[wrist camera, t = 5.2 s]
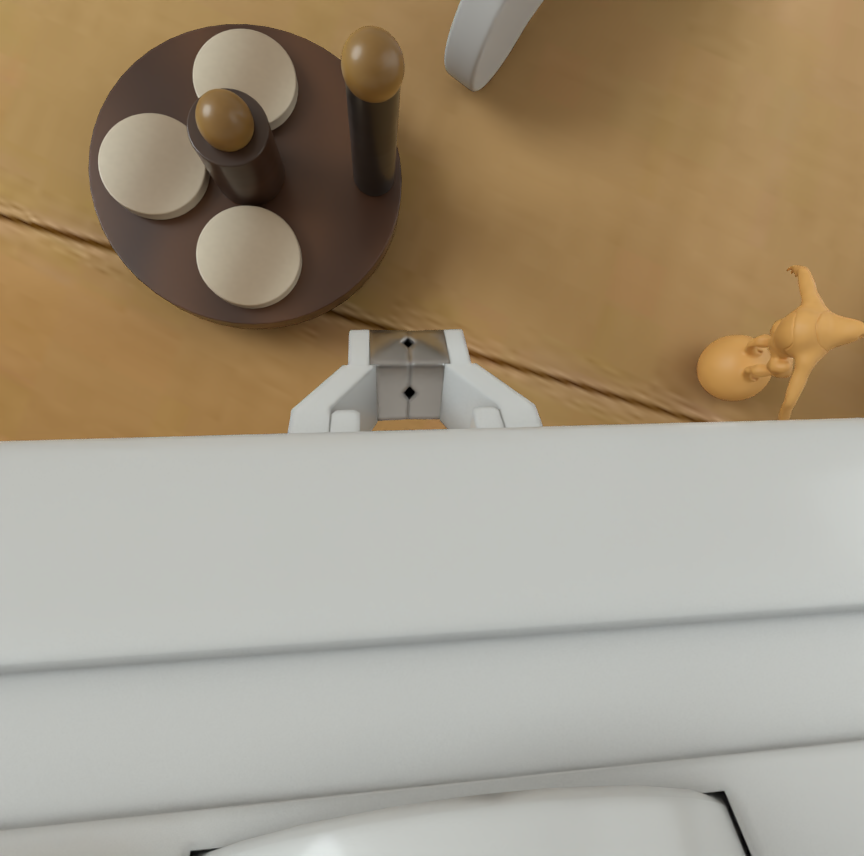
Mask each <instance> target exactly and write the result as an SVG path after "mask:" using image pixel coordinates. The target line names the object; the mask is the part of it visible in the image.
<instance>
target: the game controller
mask: <svg viewBox="0 0 864 856" xmlns="http://www.w3.org/2000/svg"><path fill="white" fill-rule="evenodd" d="M543 1H544V0H461V1H460V4H459V6H458V9H457V11H456V14H455V17H454V20H453V23H452V26H451V29H450V32H449V36H448V40H447V44H446V49H445V58H444V63H445V68H446V71H447V72H448V73H449V74H450V75H451V76H452V77H454V78H455V79H456V80H458V81H459V82H460V83H462V84H463V85H464V86H466V87H467V88H468V89H470V90H471V91H478V90H480V89H481V88H483V87H484V86H485V85H486V84H487V83H488V82H489V81H490V79H491V78H492V77H493V76H494V74H495V73H496V72H497V70H498V69H499V68H500V66H501V65H502V63H503V62H504V61H505V59H506V58H507V56H508V54H509V53H510V51H511V50H512V48H513V46H514V45H515V43H516V41H517V40H518V38H519V36H520V35H521V33H522V31H523V30H524V28H525V26H526V25H527V23H528V22H529V20H530V19H531V17H532V16H533V14H534V13H535V12H536V10H537V9H538V8H539V6H540V5H541V3H542V2H543Z"/></svg>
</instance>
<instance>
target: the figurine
mask: <svg viewBox="0 0 864 856" xmlns="http://www.w3.org/2000/svg"><path fill="white" fill-rule="evenodd" d="M788 270H792V271H791V274H792V273H793V272H794V274H795V277H798V284H799V289H800V294H801V298H802V302H801V305H800V306H799V307H798V308H797V309H796V310H794V311H792V312H791V313H790V314H788V315H787V316H786V317H785V318H783V319H780V320H778V321H776V322H775V323H774V324H773V326H772V329H771V330H770V334H771V335H768V334H764V335H760V336H757V337H756V338H752V337H749V336H745V335H730V336H725V337H722V338H720V339H717V340H716V341H714V342H712V343H711V344H710V345H709V346H707V347H706V349H705V350H704V351H703V352H702V354H701V356H700V358H699V360H698V364H697V376H698V379H699V382H700V384H701V385H702V387H703V388H704V389H705V390H706V391H707V392H708V393H709V394H711V395H712V396H714V397H716V398H719V399H722V400H727V401H738V400H744V399H747V398H750V397H752V396H754V395H756V394H757V393H759V392H760V391H761V390H762V389H763V388H764V387H765V386H766V385H767V383H768V382H769V380H770V378H771V376H772V375H773V376H774V377H777V378H787V377H789V376H790V375H791V374H792V376H791V379H790V382H789V385H788V388H787V391H786V395H785V401H784V403H783V404H782V406H781V409H780V411H779V416H778V420H789V418H790V416H791V412H792V409H793V407H794V406H795V404H796V402H797V400H798V398H799V396H800V395H801V393H802V391H803V389H804V387H805V384H806V382H807V379H808V376H809V374H810V372H811V371H812V369H813V368H814V367H815V365H816V364H817V362H818V361H819V360H820V359H821V358H822V357H824V356H825V355H826V354H827V352H828V351H829V350H831V349H833V348H835V347H838V346H841V345H845V344H848V343H851V342H854V341H856V340H859V339H861V338H863V337H864V323H863V322H861V321H859V320H856V319H851V318H847V317H843V316H839V315H836V314H834V313H832V312H831V311H830V310H829V309H828V308H827V307H826V306H825V304H824V302H823V300H822V298H821V297H820V295H819V294H818V292H817V288H816V284H815V281H814V278H813V276H812V274H811V272H810V270H809V269H808V268H807V267H803V266H798V265H795V266H791V267H789V268H788V269H787V271H788ZM766 347H769V350H770V352H769V350H768V349H767V348H766ZM770 353H771V354H770ZM793 358H794V359H795V368H794V371H793V368H792V366H793ZM792 371H793V373H792Z"/></svg>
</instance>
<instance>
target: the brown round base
mask: <svg viewBox="0 0 864 856" xmlns="http://www.w3.org/2000/svg"><path fill="white" fill-rule="evenodd" d="M403 76H404V58H403V54H402V51H401V48H400V46H399V44H398V43H397V41H396V40H395V38H394V37H393V36H392V35H391V34H390V33H388V32H387V31H386V30H384V29H382V28H379V27H376V26H365V27H362V28H359V29H358V30H356V31H355V32H353V33H352V34H351V35H350V36H349V38H348V39H347V41H346V43H345V45H344V47H343V50H342V55H341V60H340V59H338V58H337V57H336V56H334V55H333V54H331V53H330V52H328V51H327V50H325V49H324V48H322V47H320V46H318V45H316V44H315V43H313V42H311V41H309V40H307V39H305V38H302V37H299V36H297V35H294V34H292V33H289V32H286V31H282V30H278V29H274V28H270V27H265V26H257V25H248V24H226V25H218V26H210V27H204V28H201V29H197V30H193V31H189V32H186V33H184V34H181V35H179V36H176V37H174V38H171V39H169V40H167V41H165V42H164V43H162V44H160V45H158V46H157V47H155V48H153V49H151V50H150V51H149V52H147V53H146V54H145V55H144V56H142V57H141V58H140V59H138V60H137V61H136V62H135V63H134V64H133V65H132V66H131V67H130V68H129V69H128V70H127V71H126V72H125V73H124V74H123V75H122V76H121V78H120V79H119V80H118V82H117V83H116V84H115V86H114V87H113V89H112V90H111V91H110V93H109V95H108V97H107V98H106V100H105V102H104V104H103V106H102V108H101V110H100V112H99V115H98V118H97V121H96V124H95V127H94V130H93V135H92V140H91V145H90V153H89V179H90V190H91V194H92V198H93V203H94V207H95V211H96V213H97V216H98V219H99V221H100V224H101V227H102V229H103V231H104V233H105V235H106V237H107V238H108V240H109V242H110V244H111V246H112V248H113V249H114V250H115V252H116V253H117V254H118V256H119V257H120V259H121V260H122V261H123V263H124V264H125V265H126V266H127V267H128V268H129V269H130V270H131V272H132V273H133V274H134V275H135V276H136V277H137V278H138V279H139V280H140V281H141V282H143V283H144V284H145V285H146V286H148V287H149V288H150V289H151V290H152V291H154V292H155V293H156V294H158V295H159V296H161V297H162V298H164V299H165V300H167V301H169V302H170V303H172V304H173V305H175V306H177V307H178V308H180V309H181V310H184V311H186V312H188V313H190V314H192V315H194V316H197V317H199V318H201V319H205V320H208V321H211V322H214V323H217V324H221V325H226V326H232V327H237V328H251V329H265V328H278V327H283V326H289V325H294V324H298V323H301V322H304V321H307V320H310V319H313V318H316V317H318V316H320V315H322V314H324V313H326V312H328V311H330V310H332V309H333V308H335V307H336V306H338V305H339V304H341V303H342V302H344V301H345V300H347V299H348V298H349V297H351V296H352V295H353V294H354V293H355V292H356V291H357V290H359V289H360V288H361V287H362V286H363V285H364V283H365V282H366V281H367V280H368V279H369V278H370V277H371V275H372V274H373V273H374V272H375V270H376V269H377V267H378V265H379V264H380V262H381V261H382V259H383V258H384V256H385V254H386V252H387V249H388V247H389V245H390V243H391V241H392V238H393V235H394V231H395V228H396V225H397V220H398V215H399V209H400V201H401V182H402V176H401V165H400V157H399V153H398V148H397V133H398V118H399V103H400V89H401V83H402V80H403Z"/></svg>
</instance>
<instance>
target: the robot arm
mask: <svg viewBox="0 0 864 856" xmlns="http://www.w3.org/2000/svg"><path fill="white" fill-rule="evenodd" d="M401 419H440V421H441V422H442V423H443V424H444V425H445V427H446V428H447V429H434V430H397V431H371V430H372V429H373V428H374V426H375V425H376V423H377V421H382V420H401ZM0 856H864V418H838V419H804V420H768V421H730V422H692V423H655V424H617V425H580V426H544V427H543V425H542V423H541V420H540V417H539V414H538V412H537V409H536V406H535V404H533V403H532V402H530V401H529V400H527V399H526V398H525V397H523V396H522V395H520V394H519V393H518V392H516V391H515V390H513V389H512V388H510V387H509V386H508V385H506V384H505V383H503V382H502V381H500V380H499V379H498V378H496V377H495V376H493V375H492V374H491V373H489V372H488V371H486V370H485V369H483V368H482V367H481V366H479V365H478V364H476V363H475V364H471V360H470V356H469V353H468V349H467V345H466V341H465V337H464V334H463V330H461V329H449V330H423V331H407V330H370V339H369V330H350V332H349V353H348V365H343V366H341V367H340V368H339V369H338V370H337V371H336V372H335V373H333V374H332V375H331V376H330V377H329V378H328V379H326V380H325V381H324V382H323V383H322V384H321V385H320V386H318V387H317V388H316V389H315V390H314V391H313V392H311V393H310V394H309V395H308V396H307V397H306V398H305V399H303V400H302V401H301V402H300V403H299V404H298V405H296V406H295V407H294V408H293V409H292V410H291V416H290V423H289V429H288V433H286V434H249V435H212V436H175V437H138V438H101V439H64V440H26V441H0Z"/></svg>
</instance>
